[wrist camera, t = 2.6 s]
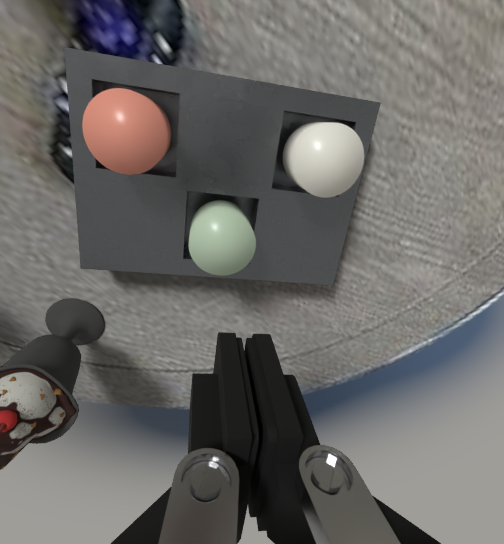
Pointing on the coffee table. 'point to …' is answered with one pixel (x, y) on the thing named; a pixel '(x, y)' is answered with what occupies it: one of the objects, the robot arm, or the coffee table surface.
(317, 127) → the button ivory
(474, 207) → the coffee table surface
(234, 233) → the button sage
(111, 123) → the button coral
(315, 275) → the panel
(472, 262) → the coffee table surface
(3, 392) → the sundae
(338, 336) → the coffee table surface
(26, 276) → the coffee table surface
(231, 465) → the robot arm
